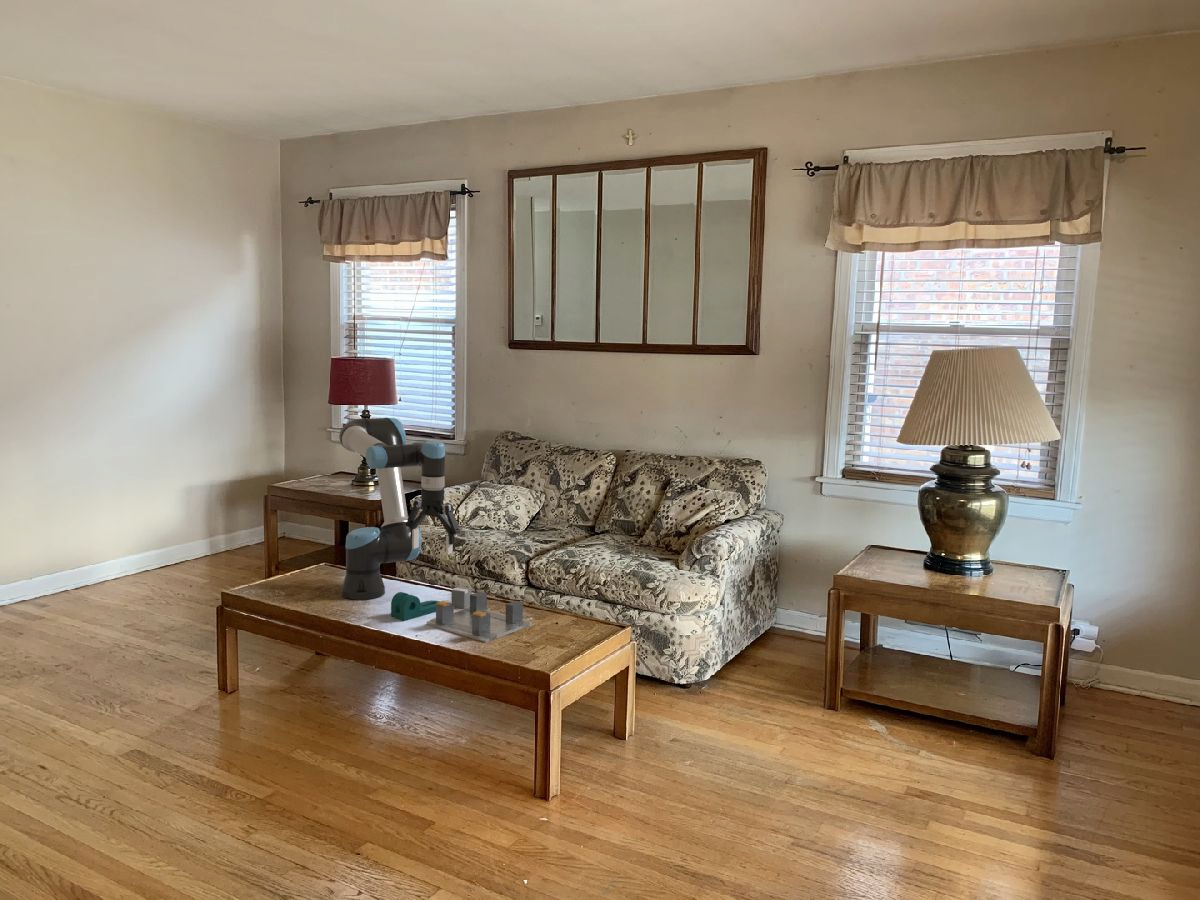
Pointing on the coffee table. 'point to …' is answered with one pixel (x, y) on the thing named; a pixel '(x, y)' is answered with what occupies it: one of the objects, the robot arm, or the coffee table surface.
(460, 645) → the coffee table surface
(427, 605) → the bracket
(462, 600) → the block
